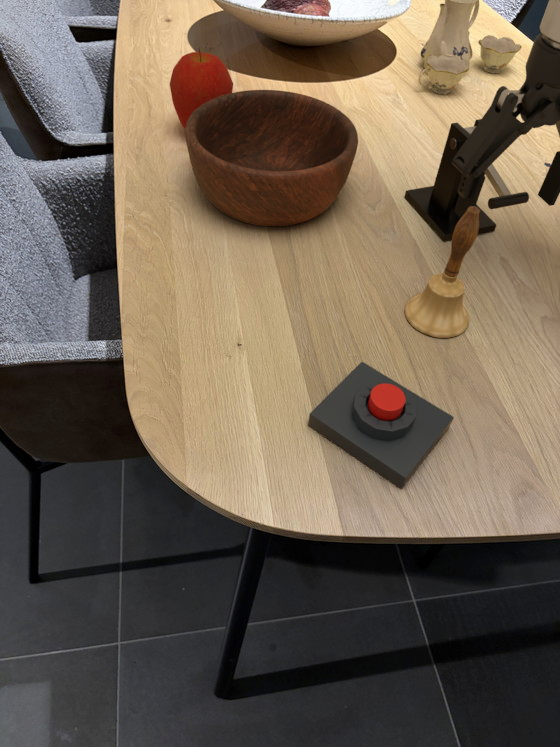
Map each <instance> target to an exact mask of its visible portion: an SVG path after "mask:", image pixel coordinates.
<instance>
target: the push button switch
mask: <svg viewBox="0 0 560 747" xmlns="http://www.w3.org/2000/svg"><path fill="white" fill-rule="evenodd" d="M379 384H392V385H394V386H396V387H398V388H399V389H401V390H402V392H403V393H404V395H405V404H404V407H403V410H402V413H401V415H400V416H399V417H398V418H397V419H395V420H391V421H384V420H380V419H378V418H376V417H374V416H373V415H372V414H371V413H370V411H369V409H368V401H369V397H370V394H371V391H372V389H373V388H374V387H375V386H377V385H379ZM454 418H455V417H454V416H453V415H451V414H449V413H448V412H447V411H444V410H443V409H441V408H440V407H438V406H436V405H434V403H431V402H430V401H428V400H426V399H425V398H423V397H421V396H419V394H417V393H415V392H414V391H411V390H410V389H408V388H407V387H405V386H403V385H402V384H400V383H398V382H397V381H395V380H394V379H392V378H391V377H388V376H387V375H385V374H384V373H382V372H380V371H379V370H377V369H376V368H374V367H372V366H370V365H369V364H367V363H366V362H364V361H361V362H359V364H357V365H356V367H355V368H353V370H352V371H351V372H350V373H348V375H347V376H345V378H344V379H343V380H341V382H339V384H338V385H336V386H335V387H334V389H333V390H331V392H330V393H329V394H328V395H326V396H325V397H324V398H323V399H322V400H321V401H320V403H319V404H318V405H316V407H314V409H312V410H311V411H310V412H309V415H308V422H307V426H308V427H309V428H311V429H312V430H314V431H315V432H317V433H318V434H320V435H322V436H323V437H324V438H326V439H327V440H329V441H330V442H332V443H333V444H334V445H336V446H338V447H339V448H340V449H341V450H343V451H345V452H346V453H347V454H349V455H351V456H352V457H354V458H355V459H356V460H358V461H359V462H361V463H362V464H364V465H365V466H367V467H368V468H369V469H371V470H373V471H374V472H375V473H377V474H379V475H380V476H381V477H384V479H386V480H387V481H388V482H390V483H391V484H393V485H395V486H396V487H398V488H399V489H401V490H402V489H403V488H404V487H405V486H406V484H408V482H409V480H410V479H411V478H412V476H413V475H414V474H415V473H416V471H417V470H418V469H419V468H420V466H422V464H423V462H424V461H425V460H426V459H427V458H428V456H429V454H430V453H431V452H432V451H433V449H435V447H436V446H437V445H438V444H439V442H440V441H441V440H442V438H443V437H444V436H445V434H446V433H447V431H448V430H449V429H450V427H451V424H452V423H453V420H454Z"/></svg>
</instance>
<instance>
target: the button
mask: <svg viewBox="0 0 560 747" xmlns="http://www.w3.org/2000/svg"><path fill="white" fill-rule="evenodd" d="M404 404H405V395H404V393H403V392H402V390H401V389H399V388H398V387H396V386H394V385H392V384H379V385H377V386H375V387H374V388H373V389H372V391H371V394H370V397H369V401H368V409H369V411H370V413H371V414H372V415H373V416H374V417H376V418H378V419H380V420H384V421H391V420H395V419H397V418H398V417H399V416H400V415H401V413H402V410H403V407H404Z"/></svg>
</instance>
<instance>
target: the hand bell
mask: <svg viewBox="0 0 560 747" xmlns="http://www.w3.org/2000/svg"><path fill="white" fill-rule="evenodd" d="M479 212H480V210H479V209H478V208H477V207H474V206H470V207H469V208H468V209H467V211H466V212H465V214H464V215H463V216H462V217H461V219H460V220H459V221H458V223H457V225H456V227H455V229H454V232H453V236H452V240H451V242H450V244H451V245H450V246H451V249H450V250H451V251H450V255H449V258H448V260H447V263H446V265H445V267H444V271H443V272H441V273H435V274H433V275H432V276H431V277H430V278H429V279H428V282H427V284H426V286H425V288H424V289H423V291H422V292H420V293H418V294H415V295H414V296H412V297H411V298H410V299H409V300H408V301H407V302H406V304H405V306H404V316H405V318H406V320H407V322H408V323H409V324H410V326H412V328H414V329H415V330H417V331H418V332H420V333H422V334H423V335H427V336H429V337H433V338H441V339H448V338H454V337H457V336H460V335H461V334H463V333H464V332H466V330H467V329H468V327H469V324H470V315H469V313H468V310H467V308H466V307H465V305H464V303H463V302H464V294H465V291H466V290H465V289H466V288H465V284H464V281H463V280H461V278H459V277H458V276H459V273H460V270H461V267H462V263H463V260H464V258H465V256H466V255H467V254H468V252H469V251H470V250H471V248H472V247H473V245H474V244H475V241H476V239H477V236H478V235H479V234H478V230H479ZM477 234H478V235H477Z"/></svg>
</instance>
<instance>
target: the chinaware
mask: <svg viewBox="0 0 560 747" xmlns="http://www.w3.org/2000/svg"><path fill="white" fill-rule="evenodd" d="M439 8H440V10H439V14H438V17H437V20H436V21H435V25H434V27H433V29H432V31H431V33H430V35H429V38H428V39H427V41H426V42H425V43H424V46H423V47H422V48H421V50H420V58H421V59H422V61H423V65H422V66H423V70H421V72H420V73H419V75H418V84H419V85H421V86H427V85H428V86H427V88H428V89H429V90H432V91H433V92H434V93H435V94H440V95H447V94H449V93H451V89H453V88H454V87H456V86H457V85H458V84H459V83H460V82H461V81H462V79H463V78H464V76H465V74H467V73H468V72H469V70H470V63H471V60H472V58H473V48H472V44H471V42H470V32H471V31H470V30H469V29H470V28H471V27H472V26H473V24H474V22H475V21H476V20H477V18H478V17H477V16H478V13H479V10H480V0H444V3H440V4H439ZM471 14H472V15H471ZM477 44H478V45H479V46H480V59H481V61H482V63H483V65H484V66H483V70H484V72H487V73H490V74H499V73H501V70H500V69H502V68H505V67H506V66H508V65H509V64H510V63H511V62H512V60H513V59H514V57H515V56H516V54H517V53H518V52H520V50H521V49H522V45H521V44H519V43H515V41H514V39H512V38H510V37H508V36H507V37H506V36H504V37H499V38H498V37H496V36H495V35H490V34H489V35H486V36H484V37H483V38H482V39H479V40H478V42H477ZM424 73H425V74H427V77H428V80H429V82H425V83H422V82H421V77H422V75H423V74H424Z"/></svg>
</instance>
